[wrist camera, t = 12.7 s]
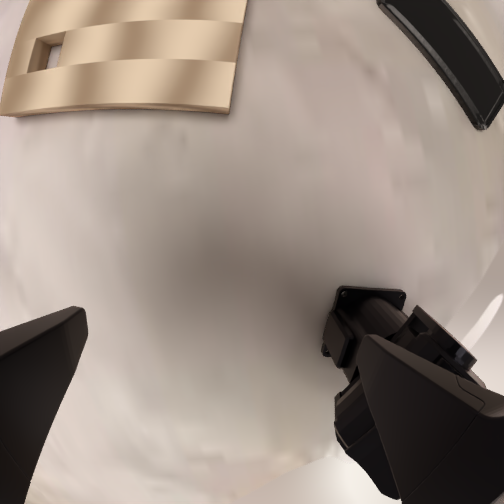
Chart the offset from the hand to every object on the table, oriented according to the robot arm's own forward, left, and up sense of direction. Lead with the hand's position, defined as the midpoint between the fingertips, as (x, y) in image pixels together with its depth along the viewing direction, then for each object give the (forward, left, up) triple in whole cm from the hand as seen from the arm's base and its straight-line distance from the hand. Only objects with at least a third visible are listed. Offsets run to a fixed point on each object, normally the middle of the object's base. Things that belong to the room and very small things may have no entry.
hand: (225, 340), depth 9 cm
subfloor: (+10, -18, -13) cm, 25 cm away
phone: (-17, -20, -14) cm, 29 cm away
